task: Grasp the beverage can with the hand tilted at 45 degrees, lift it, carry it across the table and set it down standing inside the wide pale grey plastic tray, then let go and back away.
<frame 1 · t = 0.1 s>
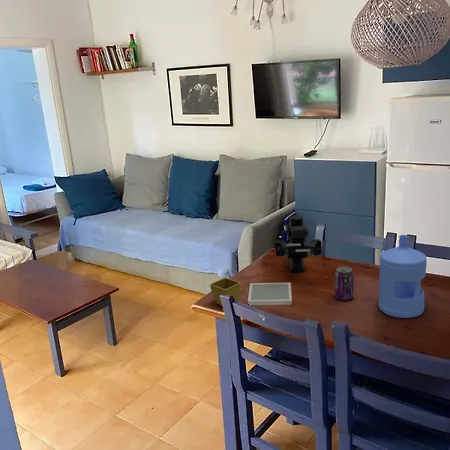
hand: (299, 255, 185), 17 cm above the table, tool horizontal, fingers open, 9 cm apart
flower pot: (226, 304, 185), on the table
water jug: (400, 309, 172), on the table
beverage can: (344, 298, 184), on the table
tray: (270, 295, 190), on the table
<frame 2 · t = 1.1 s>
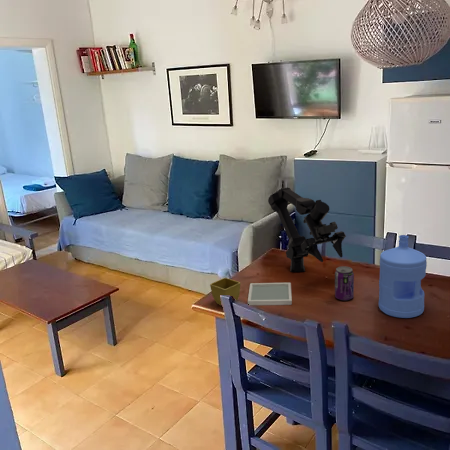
hand: (332, 259, 186), 14 cm above the table, tool tilted 45°, fingers open, 9 cm apart
nothing on the table moved.
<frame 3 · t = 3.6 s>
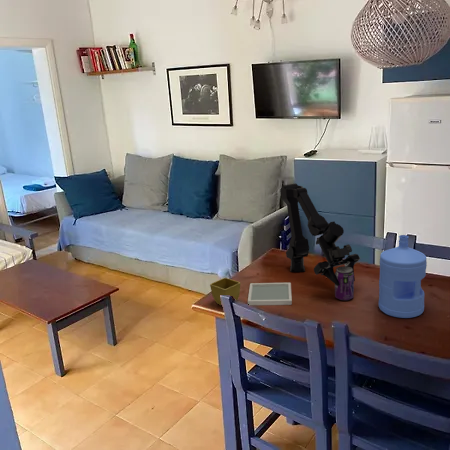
hand: (346, 283, 180), 7 cm above the table, tool tilted 45°, fingers closed on beverage can, 7 cm apart
beverage can: (344, 298, 184), on the table, touching gripper
everything else where it was.
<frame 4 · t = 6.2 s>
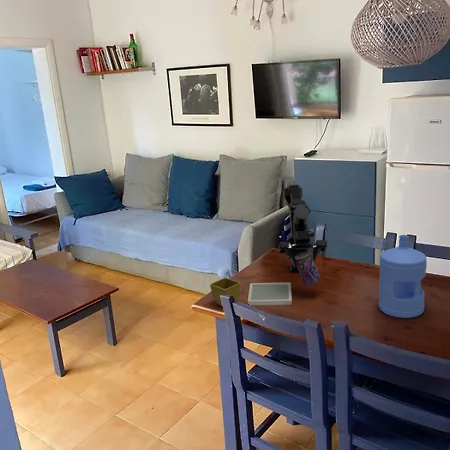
hand: (304, 266, 182), 13 cm above the table, tool tilted 45°, fingers closed on beverage can, 7 cm apart
beverage can: (312, 282, 185), point 6 cm above the table, touching gripper
everything else where it was.
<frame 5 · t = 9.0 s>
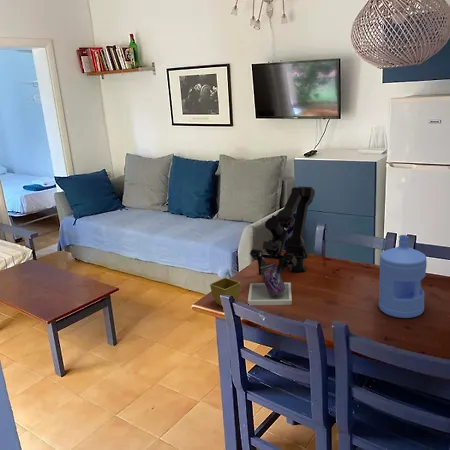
hand: (267, 276, 186), 9 cm above the table, tool tilted 45°, fingers closed on beverage can, 7 cm apart
beverage can: (278, 293, 187), point 2 cm above the table, touching gripper, tray
everything else where it was.
when the fingers open (9 cm above the table, at t = 9.7 s): beverage can stays where it is, resting on tray.
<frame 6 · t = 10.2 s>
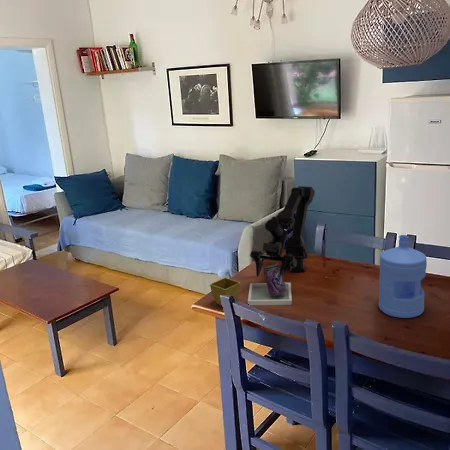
hand: (267, 277, 186), 8 cm above the table, tool tilted 45°, fingers open, 9 cm apart
beverage can: (278, 294, 187), point 2 cm above the table, touching gripper, tray
everything else where it was.
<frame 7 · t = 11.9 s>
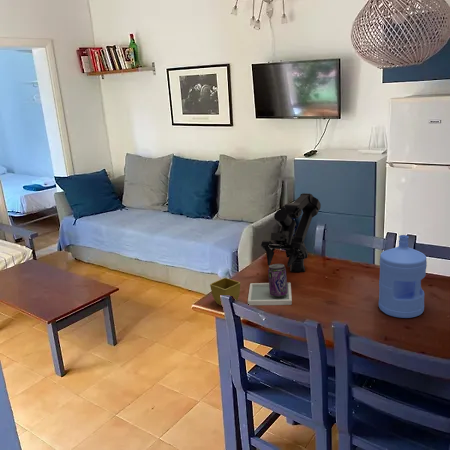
hand: (278, 265, 194), 10 cm above the table, tool tilted 40°, fingers open, 9 cm apart
beverage can: (278, 295, 187), point 1 cm above the table, touching tray
everything else where it was.
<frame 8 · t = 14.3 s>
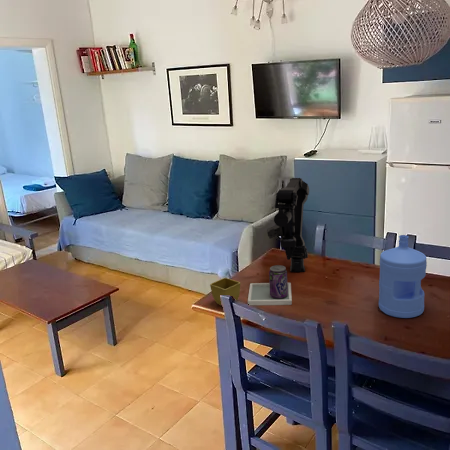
hand: (288, 255, 196), 13 cm above the table, tool pointing down, fingers open, 9 cm apart
at the end: beverage can 4.1 cm from the tray (horizontally); beverage can tilted 0°; the gripper is holding nothing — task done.
